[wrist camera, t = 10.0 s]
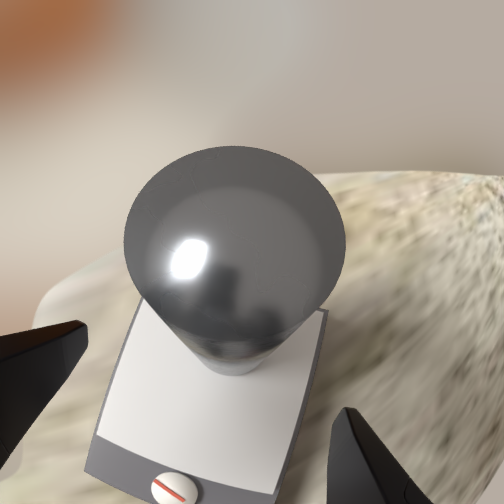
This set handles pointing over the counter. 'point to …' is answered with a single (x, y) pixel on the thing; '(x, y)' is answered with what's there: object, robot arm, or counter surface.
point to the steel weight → (234, 252)
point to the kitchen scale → (201, 418)
